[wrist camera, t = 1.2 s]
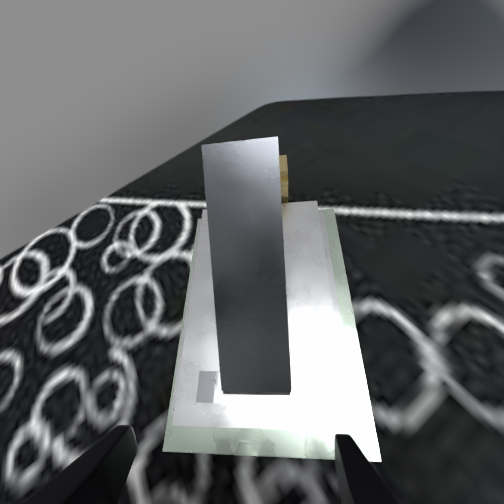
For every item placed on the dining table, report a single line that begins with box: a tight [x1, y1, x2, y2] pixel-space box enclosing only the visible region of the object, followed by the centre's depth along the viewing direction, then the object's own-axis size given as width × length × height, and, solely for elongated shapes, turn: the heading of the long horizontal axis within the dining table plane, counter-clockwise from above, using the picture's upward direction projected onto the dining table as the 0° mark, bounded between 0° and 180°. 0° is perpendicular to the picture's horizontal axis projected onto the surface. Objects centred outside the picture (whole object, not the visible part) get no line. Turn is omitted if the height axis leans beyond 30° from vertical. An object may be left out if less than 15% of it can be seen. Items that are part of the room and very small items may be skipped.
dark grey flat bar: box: [202, 137, 292, 395], centre depth 14 cm, size 14×4×1 cm
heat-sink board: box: [163, 155, 382, 462], centre depth 19 cm, size 21×15×9 cm
